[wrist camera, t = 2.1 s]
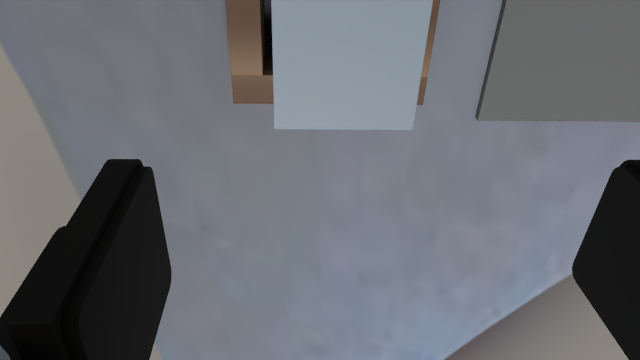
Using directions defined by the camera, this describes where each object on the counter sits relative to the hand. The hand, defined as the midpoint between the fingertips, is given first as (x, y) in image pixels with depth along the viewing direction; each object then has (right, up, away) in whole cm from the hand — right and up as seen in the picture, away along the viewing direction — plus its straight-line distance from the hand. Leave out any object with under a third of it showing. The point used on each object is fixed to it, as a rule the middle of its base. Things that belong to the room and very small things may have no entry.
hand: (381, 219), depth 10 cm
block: (-1, +10, +14) cm, 18 cm away
